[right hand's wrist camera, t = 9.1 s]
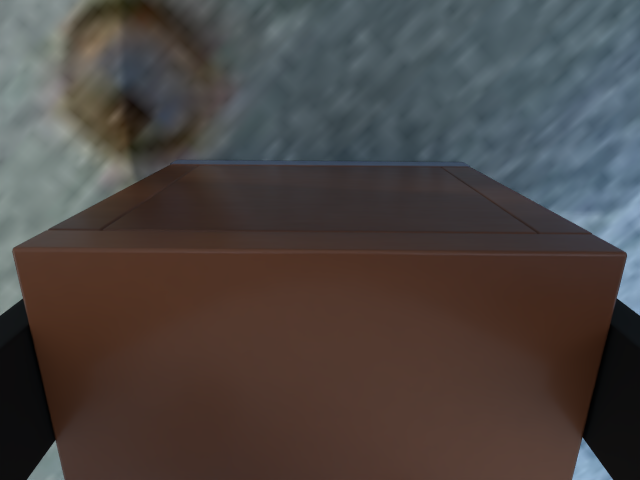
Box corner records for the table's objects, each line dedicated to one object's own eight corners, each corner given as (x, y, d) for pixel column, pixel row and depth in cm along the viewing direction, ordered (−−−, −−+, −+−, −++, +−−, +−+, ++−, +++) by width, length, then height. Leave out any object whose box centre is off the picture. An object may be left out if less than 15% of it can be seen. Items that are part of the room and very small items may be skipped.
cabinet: (424, 505, 23) (496, 792, 14) (209, 504, 23) (134, 790, 14) (463, 162, 17) (630, 251, 8) (176, 159, 17) (9, 247, 8)
